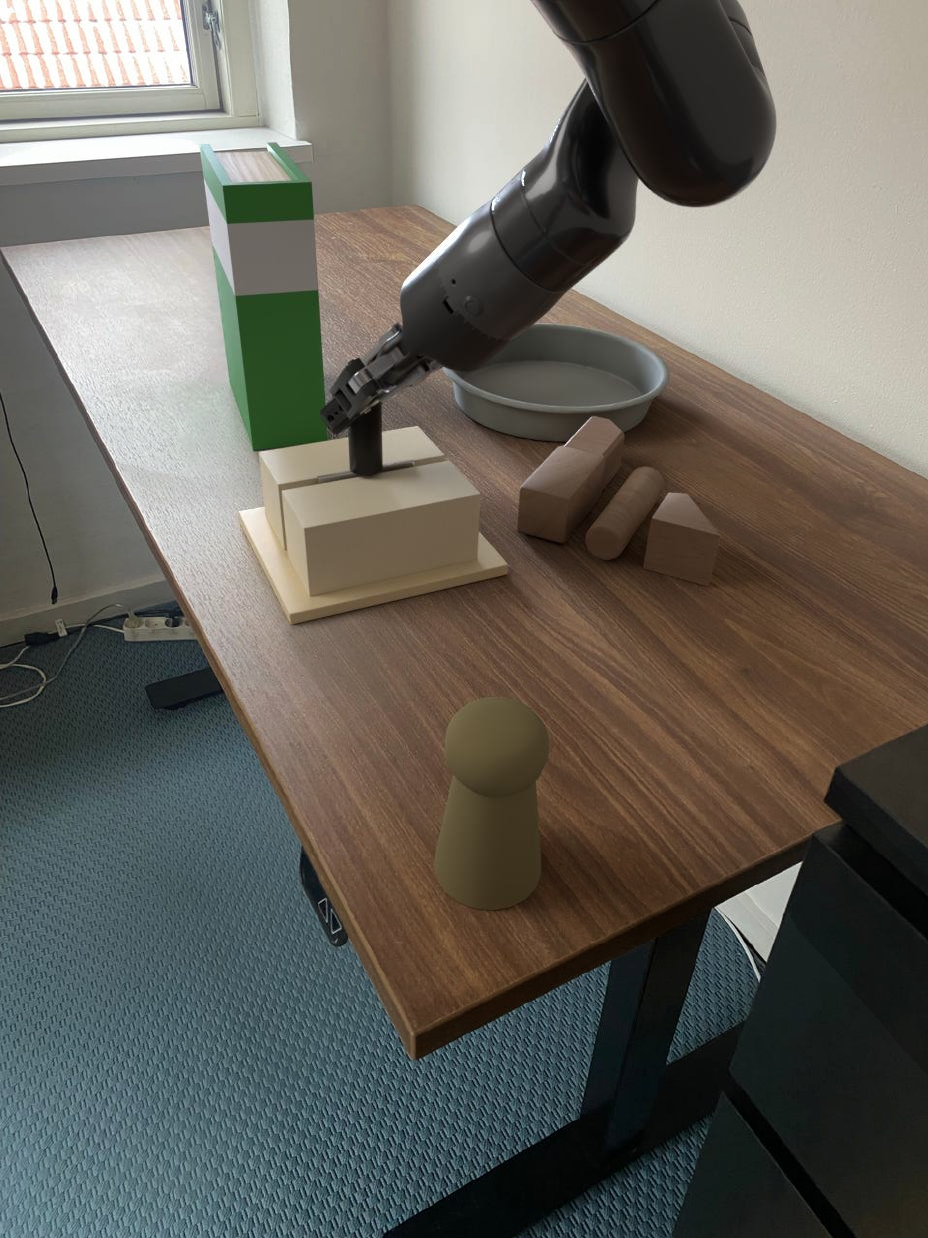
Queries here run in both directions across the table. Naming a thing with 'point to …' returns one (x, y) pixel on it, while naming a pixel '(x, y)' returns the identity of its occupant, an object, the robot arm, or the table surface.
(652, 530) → the wooden block set
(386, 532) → the slotted fixture
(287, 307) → the hardback book
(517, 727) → the chess pawn figurine
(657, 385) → the cake pan
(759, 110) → the robot arm
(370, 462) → the knife
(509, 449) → the table surface
